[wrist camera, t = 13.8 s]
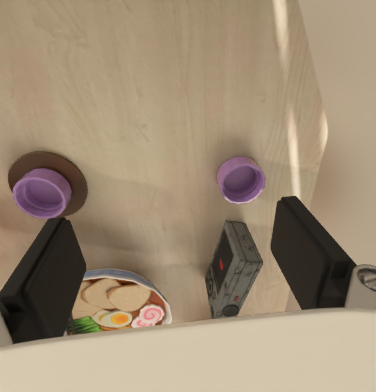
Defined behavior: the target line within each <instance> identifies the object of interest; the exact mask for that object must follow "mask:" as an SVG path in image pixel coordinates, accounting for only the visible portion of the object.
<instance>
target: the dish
mask: <svg viewBox="0 0 376 392" xmlns="http://www.w3.org/2000/svg"><path fill="white" fill-rule="evenodd" d="M265 180H266V178H265V176H264V173H263V171H262V170H261V168H260V167H259V166H258V164H257V163H256V162H255V161H253V160H252V159H251V158H248V157H245V156H240V157H234V158H231V159H229V160H227V161H226V162H225V163H224V164H223V165H222V166H221V167H220V169H219V171H218V173H217V184H218V187H219V189H220V192H221V194H222V196H223V198H225V199H226V200H227V201H228V202H230V203H234V204H246V203H248V202H250V201H253V200H254V199H256V198H257V197H258V196H259V195H260V194H261V192H262V191H263V189H264V187H265Z"/></svg>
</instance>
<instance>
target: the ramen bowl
mask: <svg viewBox="0 0 376 392" xmlns="http://www.w3.org/2000/svg"><path fill="white" fill-rule="evenodd" d="M171 322H172V315H171V311H170V306H169V304H168V302H167V300H166V299H165V297H164V296H163V295H162V294H161V293H160V292H159V291H158V290H157V288H156V287H155V286H154V285H153V284H152V283H151V282H150V281H149V280H148V279H146V278H145V277H142V276H140V275H138V274H136V273H134V272H132V271H129V270H122V269H116V268H104V269H96V270H90V271H87V272H85V275H84V278H83V280H82V283H81V286H80V289H79V292H78V295H77V298H76V301H75V304H74V307H73V309H72V312H71V315H70V318H69V321H68V324H67V327H66V330H65V333H64V336H70V335H78V334H86V333H95V332H103V331H112V330H120V329H129V328H138V327H146V326H155V325H164V324H171Z"/></svg>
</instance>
